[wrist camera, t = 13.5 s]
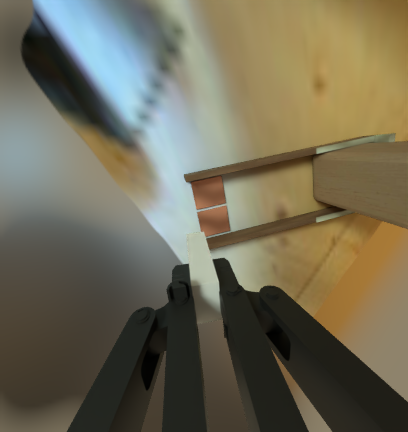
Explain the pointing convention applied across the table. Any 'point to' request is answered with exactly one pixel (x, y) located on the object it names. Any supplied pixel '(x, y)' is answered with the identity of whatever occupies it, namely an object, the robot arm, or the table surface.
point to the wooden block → (365, 180)
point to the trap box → (218, 222)
